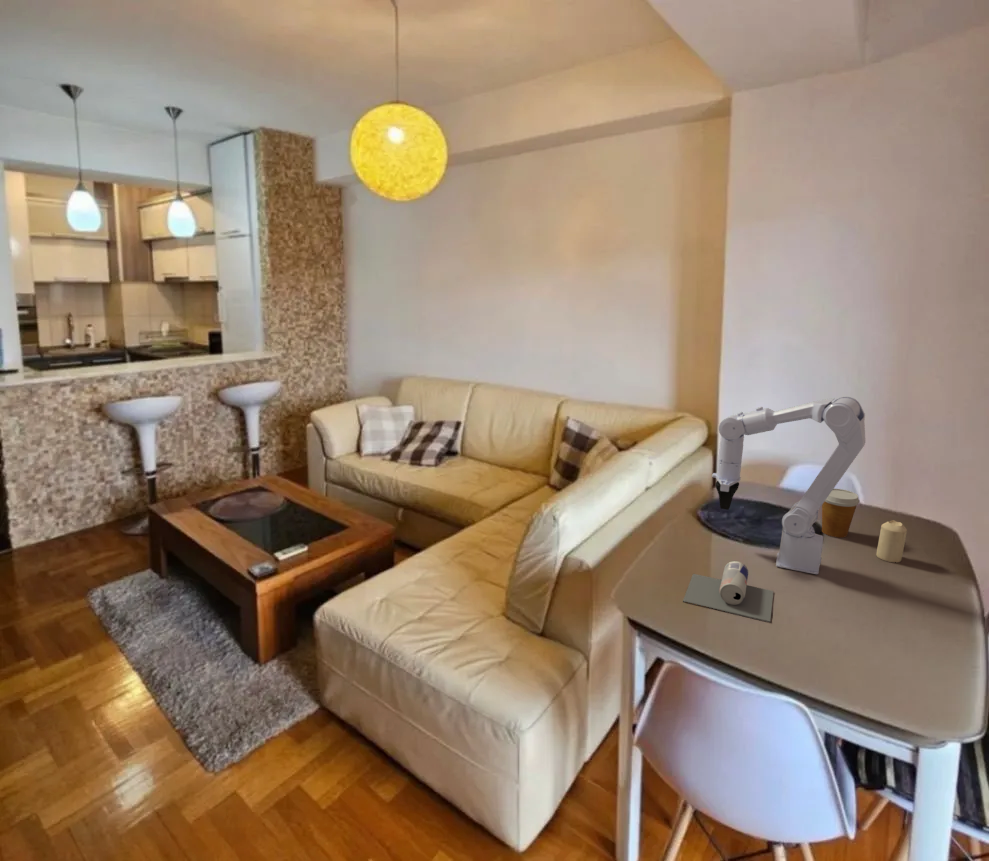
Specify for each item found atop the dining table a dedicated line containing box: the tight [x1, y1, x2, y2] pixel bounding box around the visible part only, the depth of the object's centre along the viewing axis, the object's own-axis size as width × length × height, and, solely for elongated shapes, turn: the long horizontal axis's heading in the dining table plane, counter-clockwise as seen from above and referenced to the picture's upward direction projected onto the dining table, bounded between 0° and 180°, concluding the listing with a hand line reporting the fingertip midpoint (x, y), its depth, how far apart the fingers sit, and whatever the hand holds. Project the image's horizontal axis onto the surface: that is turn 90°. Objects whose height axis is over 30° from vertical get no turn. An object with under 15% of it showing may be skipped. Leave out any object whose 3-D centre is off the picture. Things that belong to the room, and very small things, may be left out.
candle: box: [876, 519, 908, 563], centre depth 153 cm, size 6×6×10 cm
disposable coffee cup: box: [821, 487, 860, 538], centre depth 167 cm, size 10×10×12 cm
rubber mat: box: [682, 573, 774, 623], centre depth 135 cm, size 18×14×1 cm
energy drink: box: [720, 560, 749, 605], centre depth 136 cm, size 5×5×12 cm
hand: (724, 508), depth 159 cm, fingers closed
